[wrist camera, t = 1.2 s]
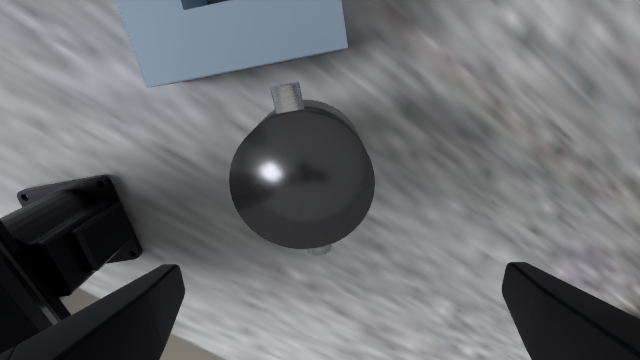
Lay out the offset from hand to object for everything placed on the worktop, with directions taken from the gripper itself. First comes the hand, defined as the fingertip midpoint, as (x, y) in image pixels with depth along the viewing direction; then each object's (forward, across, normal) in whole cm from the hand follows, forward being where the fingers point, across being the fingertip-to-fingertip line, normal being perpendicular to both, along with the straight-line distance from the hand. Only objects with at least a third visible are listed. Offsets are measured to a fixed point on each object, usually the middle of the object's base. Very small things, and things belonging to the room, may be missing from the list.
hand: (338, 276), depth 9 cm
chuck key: (+13, +2, -1) cm, 13 cm away
